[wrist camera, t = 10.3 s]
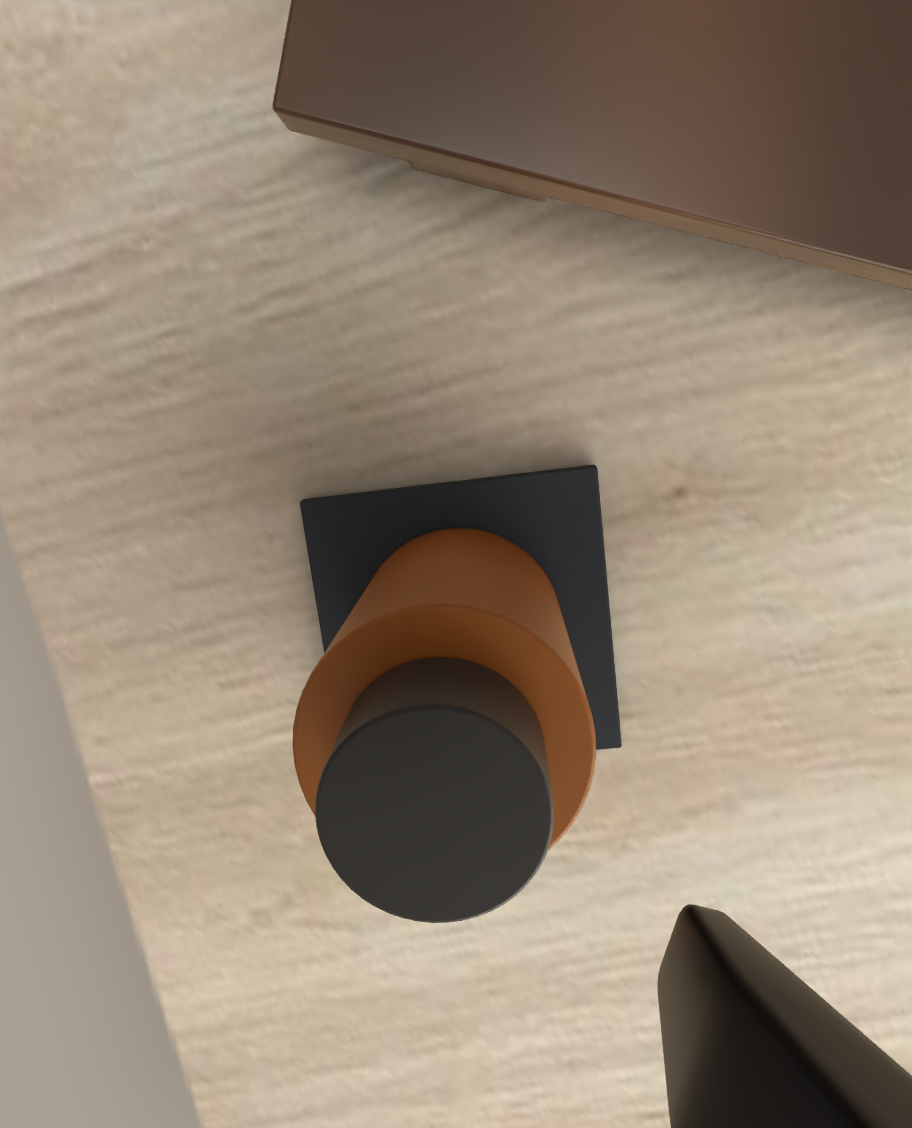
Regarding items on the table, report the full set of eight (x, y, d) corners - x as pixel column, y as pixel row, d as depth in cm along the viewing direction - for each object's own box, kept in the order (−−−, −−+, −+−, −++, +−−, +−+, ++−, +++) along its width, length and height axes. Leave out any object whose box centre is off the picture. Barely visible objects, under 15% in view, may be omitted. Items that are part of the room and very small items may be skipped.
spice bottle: (377, 727, 20) (286, 988, 11) (348, 539, 19) (224, 665, 10) (569, 708, 20) (629, 962, 11) (550, 516, 19) (598, 627, 10)
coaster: (346, 767, 21) (343, 774, 21) (302, 498, 19) (298, 501, 19) (619, 741, 20) (621, 748, 20) (595, 464, 19) (597, 465, 19)
